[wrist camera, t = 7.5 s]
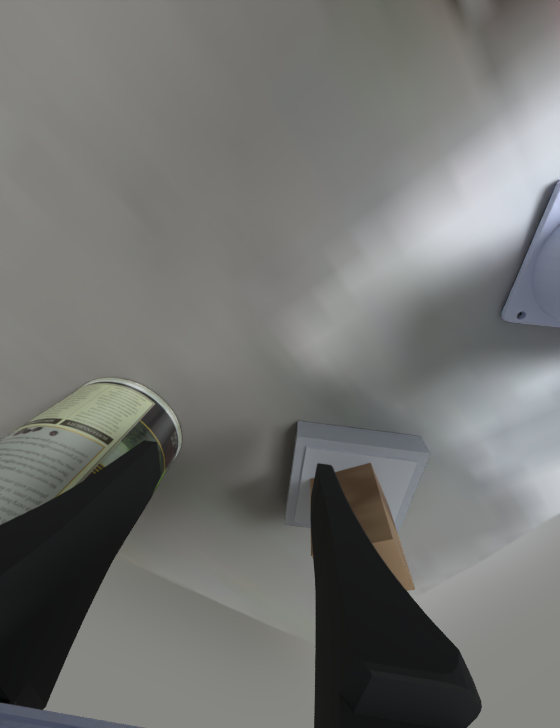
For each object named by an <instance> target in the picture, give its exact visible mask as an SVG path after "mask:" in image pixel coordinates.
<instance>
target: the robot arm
mask: <svg viewBox="0 0 560 728" xmlns="http://www.w3.org/2000/svg"><path fill="white" fill-rule="evenodd" d="M520 312H522V314H521V316H520V317H518V318H517V315H518V313H520ZM501 317H502V319H503V320H505V321H508V322H513V323H522V324H531V325H540V326H550V327H559V328H560V180H559V181H558V183H557V185H556V186H555V189H554V191H553V193H552V196H551V198H550V201H549V203H548V205H547V208H546V210H545V212H544V215H543V217H542V219H541V222H540V224H539V226H538V229H537V231H536V233H535V236H534V238H533V240H532V243H531V245H530V247H529V250H528V252H527V255H526V257H525V259H524V262H523V264H522V266H521V269H520V271H519V273H518V276H517V278H516V280H515V283H514V285H513V287H512V290H511V292H510V294H509V297H508V299H507V301H506V304H505V306H504V309H503V311H502V314H501ZM160 477H161V471H160V462H159V453H158V444H157V442H154V441H146V440H144V441H142V442H141V443H139V444H138V445H136V446H135V447H133V448H132V449H130V450H129V451H128V452H126V453H125V454H123V455H122V456H120V457H119V458H117V459H116V460H114V461H113V462H112V463H110V464H109V465H107V466H106V467H104V468H103V469H101V470H100V471H98V472H97V473H95V474H93V475H92V476H90V477H89V478H87V479H85V480H84V481H82V482H81V483H79V484H77V485H76V486H74V487H73V488H71V489H69V490H68V491H66V492H64V493H62V494H61V495H59V496H57V497H55V498H53V499H51V500H50V501H48V502H46V503H44V504H42V505H40V506H38V507H36V508H34V509H32V510H30V511H28V512H26V513H24V514H22V515H20V516H18V517H16V518H14V519H12V520H9V521H7V522H5V523H3V524H1V525H0V728H143V727H137V726H131V725H125V724H119V723H114V722H108V721H103V720H97V719H91V718H85V717H79V716H74V715H68V714H62V713H56V712H51V711H45V710H43V709H44V708H45V707H46V705H47V702H48V700H49V698H50V695H51V692H52V690H53V688H54V686H55V683H56V681H57V679H58V676H59V674H60V672H61V669H62V667H63V664H64V662H65V660H66V658H67V655H68V653H69V651H70V648H71V646H72V644H73V642H74V639H75V637H76V635H77V633H78V631H79V629H80V626H81V624H82V622H83V620H84V618H85V616H86V613H87V612H88V609H89V607H90V605H91V603H92V601H93V599H94V597H95V595H96V593H97V591H98V589H99V587H100V585H101V583H102V581H103V579H104V577H105V575H106V573H107V571H108V569H109V567H110V565H111V563H112V561H113V559H114V558H115V556H116V554H117V552H118V551H119V549H120V547H121V546H122V544H123V543H124V541H125V539H126V538H127V536H128V535H129V533H130V531H131V530H132V528H133V526H134V525H135V523H136V522H137V520H138V518H139V517H140V515H141V514H142V512H143V510H144V509H145V507H146V505H147V504H148V502H149V500H150V499H151V497H152V495H153V493H154V491H155V488H156V486H157V484H158V482H159V480H160ZM310 522H311V535H312V547H313V560H314V572H315V589H316V655H315V657H316V658H315V716H314V728H467V727H468V726H469V725H470V724H471V723H472V722H473V721H474V720H475V719H476V718H477V716H478V715H479V713H480V711H481V708H482V706H481V700H480V697H479V695H478V692H477V689H476V687H475V684H474V681H473V679H472V677H471V675H470V672H469V670H468V668H467V666H466V664H465V662H464V659H463V657H462V655H461V653H460V651H459V650H458V648H457V647H456V646H455V645H454V644H453V643H452V642H451V641H450V640H449V639H448V638H447V637H446V636H445V635H444V633H443V632H442V631H441V630H440V629H439V628H438V627H437V626H436V625H435V624H434V623H433V622H432V620H431V619H430V618H429V617H428V616H427V615H426V614H425V613H424V611H423V610H422V609H421V608H420V607H419V605H418V604H417V603H416V602H415V601H414V600H413V598H412V597H411V596H410V595H409V593H408V592H407V591H406V589H405V588H404V587H403V586H402V584H401V583H400V582H399V581H398V579H397V578H396V577H395V575H394V574H393V573H392V572H391V570H390V569H389V567H388V566H387V565H386V563H385V562H384V560H383V559H382V558H381V556H380V555H379V553H378V552H377V550H376V549H375V547H374V546H373V544H372V543H371V541H370V540H369V538H368V536H367V535H366V533H365V531H364V530H363V528H362V526H361V525H360V523H359V521H358V519H357V518H356V516H355V514H354V512H353V510H352V508H351V506H350V504H349V502H348V500H347V498H346V496H345V494H344V492H343V490H342V488H341V486H340V483H339V481H338V479H337V476H336V474H335V471H334V468H333V467H332V465H328V464H320V463H317V467H316V472H315V478H314V483H313V488H312V493H311V514H310Z"/></svg>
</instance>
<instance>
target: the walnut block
mask: <svg viewBox="0 0 560 728" xmlns="http://www.w3.org/2000/svg"><path fill="white" fill-rule="evenodd" d="M335 474H336V476H337V479H338V481H339V483H340V486H341V488H342V490H343V492H344V494H345V496H346V498H347V500H348V502H349V504H350V506H351V508H352V510H353V512H354V514H355V516H356V518H357V519H358V521H359V523H360V525H361V526H362V528H363V530H364V531H365V533H366V535H367V536H368V538H369V540H370V541H371V543H372V544H373V546H374V547H375V549H376V550H377V552H378V553H379V555H380V556H381V558H382V559H383V560H384V562H385V563H386V565H387V566H388V567H389V569H390V570H391V572H392V573H393V574H394V575H395V577H396V578H397V579H398V581H399V582H400V583H401V584H402V586H403V587H404V588H405V589H406V591H407V590H414V589H415V587H414V584H413V581H412V578H411V575H410V571H409V568H408V565H407V562H406V559H405V555H404V552H403V549H402V546H401V543H400V540H399V536H398V533H397V530H396V527H395V524H394V520H393V517H392V514H391V511H390V508H389V505H388V503H387V500H386V498H385V495H384V493H383V491H382V488H381V486H380V484H379V481H378V479H377V476H376V474H375V472H374V469H373V467H372V465H371V463H367V464H363V465H360V466H356V467H352V468H348V469H345V470H341V471H337V472H335ZM313 483H314V478H311V479H310V514H311V493H312V488H313ZM311 556H312V557H313V547H312V535H311Z"/></svg>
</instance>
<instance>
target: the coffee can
mask: <svg viewBox="0 0 560 728" xmlns="http://www.w3.org/2000/svg"><path fill="white" fill-rule="evenodd" d="M144 440H146V441H154V442H157V444H158V453H159V462H160V471H161V477H160V480H159V482H158V484H157V486H158V485H159V483H160V481H161V480H162V478H163V477H164V475H165V473H166V472H167V470H168V468H169V467H170V465H171V463H172V462H173V461H174V460H175V458H176V457H177V455H178V453H179V451H180V448H181V444H182V432H181V428H180V425H179V422H178V419H177V417H176V415H175V414H174V412H173V411H172V409H171V408H170V407H169V405H168V404H167V403H166V402H165V401H164V400H163V399H162V398H161V397H160V396H158V395H157V394H156V393H155V392H153V391H151V390H150V389H148V388H146V387H145V386H143V385H141V384H138V383H136V382H133V381H130V380H126V379H121V378H113V377H111V378H100V379H96V380H92V381H90V382H88V383H86V384H84V385H83V386H81V387H80V388H79V389H78V390H77V391H75V392H74V393H72V394H71V395H69V396H68V397H66V398H65V399H63V400H62V401H60V402H58V403H57V404H55V405H54V406H52V407H51V408H49V409H48V410H46V411H44V412H43V413H41V414H40V415H38V416H37V417H35V418H34V419H32V420H31V421H29V422H28V423H26V424H24V425H23V426H21V427H20V428H18V429H16V430H15V431H13V432H12V433H10V434H9V435H7V436H6V437H4V438H3V439H1V440H0V525H1V524H3V523H5V522H7V521H9V520H12V519H14V518H16V517H18V516H20V515H22V514H24V513H26V512H28V511H30V510H32V509H34V508H36V507H38V506H40V505H42V504H44V503H46V502H48V501H50V500H51V499H53V498H55V497H57V496H59V495H61V494H62V493H64V492H66V491H68V490H69V489H71V488H73V487H74V486H76V485H77V484H79V483H81V482H82V481H84V480H85V479H87V478H89V477H90V476H92V475H93V474H95V473H97V472H98V471H100V470H101V469H103V468H104V467H106V466H107V465H109V464H110V463H112V462H113V461H114V460H116V459H117V458H119V457H120V456H122V455H123V454H125V453H126V452H128V451H129V450H130V449H132V448H133V447H135V446H136V445H138V444H139V443H141V442H142V441H144ZM157 486H156V488H157ZM156 488H155V490H156ZM122 545H123V544H122ZM120 548H121V547H120ZM117 553H118V552H117Z"/></svg>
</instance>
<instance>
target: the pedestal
mask: <svg viewBox="0 0 560 728" xmlns="http://www.w3.org/2000/svg"><path fill="white" fill-rule="evenodd" d="M429 456H430V452H429V450H428V448H427V447H426V445H425V443H424V442H423V440H422V438H421V436H414V435H406V434H398V433H391V432H383V431H375V430H367V429H359V428H351V427H343V426H335V425H327V424H319V423H311V422H303V421H298V423H297V430H296V437H295V444H294V451H293V458H292V465H291V472H290V479H289V487H288V494H287V501H286V510H285V523H284V524H285V525H292V526H299V527H306V528H311V522H310V479H311V478H315V472H316V467H317V463H320V464H328V465H332V467H333V468H334V471H335V472H337V471H341V470H345V469H348V468H352V467H356V466H360V465H363V464H367V463H371V465H372V467H373V469H374V472H375V474H376V476H377V479H378V481H379V484H380V486H381V488H382V491H383V493H384V495H385V498H386V500H387V503H388V505H389V508H390V511H391V514H392V517H393V520H394V524H395V527H396V530H397V533H399V530H400V528H401V525H402V523H403V520H404V518H405V515H406V513H407V510H408V508H409V505H410V503H411V500H412V498H413V495H414V493H415V491H416V488H417V486H418V483H419V481H420V478H421V476H422V473H423V471H424V468H425V466H426V463H427V461H428V458H429Z"/></svg>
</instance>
